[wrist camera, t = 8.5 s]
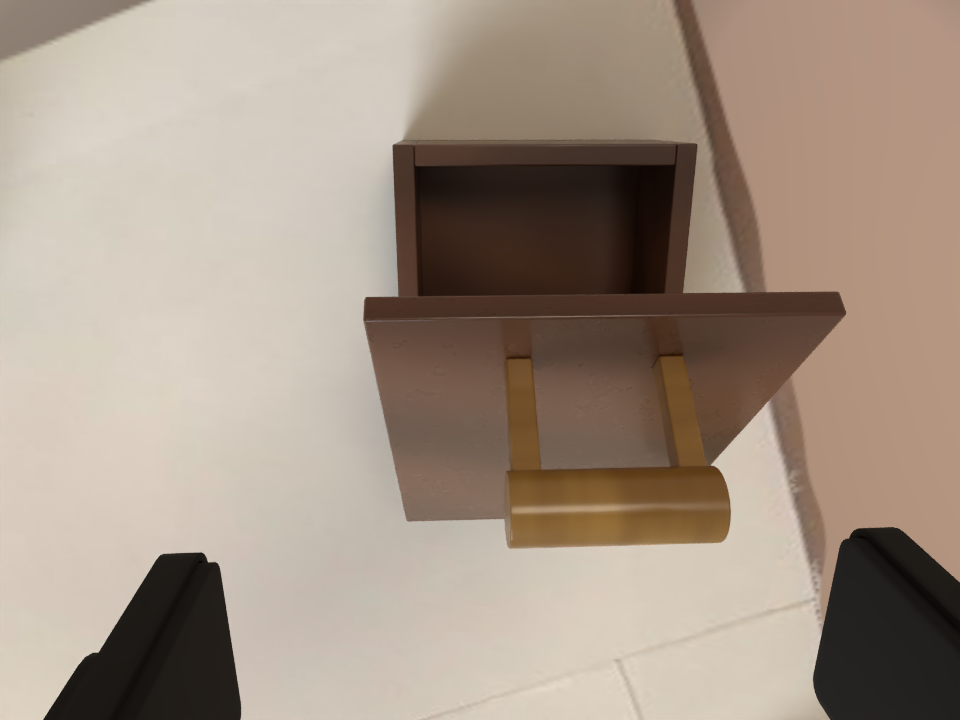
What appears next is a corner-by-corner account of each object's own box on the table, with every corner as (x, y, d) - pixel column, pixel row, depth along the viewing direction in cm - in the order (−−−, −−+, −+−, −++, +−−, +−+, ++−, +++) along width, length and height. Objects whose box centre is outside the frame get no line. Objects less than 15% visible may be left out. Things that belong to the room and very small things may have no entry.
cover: (364, 295, 16) (350, 524, 14) (839, 290, 17) (917, 509, 14) (406, 506, 31) (404, 638, 28) (664, 500, 31) (686, 629, 29)
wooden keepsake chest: (401, 140, 31) (392, 144, 26) (654, 139, 32) (698, 143, 26) (412, 450, 36) (407, 509, 31) (630, 446, 37) (662, 502, 31)
